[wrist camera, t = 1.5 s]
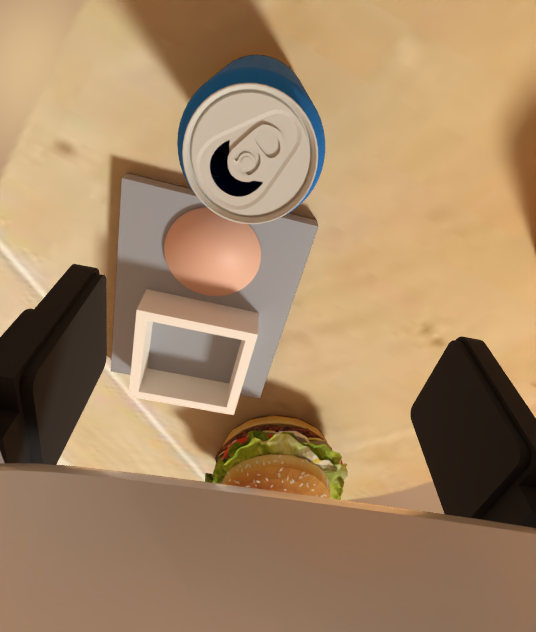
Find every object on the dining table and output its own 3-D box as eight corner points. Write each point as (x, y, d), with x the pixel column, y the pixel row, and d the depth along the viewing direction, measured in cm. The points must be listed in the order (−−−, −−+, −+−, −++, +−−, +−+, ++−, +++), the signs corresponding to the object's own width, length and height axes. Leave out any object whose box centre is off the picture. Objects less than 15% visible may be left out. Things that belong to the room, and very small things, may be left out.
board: (126, 172, 29) (107, 191, 26) (316, 220, 31) (322, 243, 28) (114, 362, 39) (99, 394, 36) (259, 389, 41) (258, 422, 38)
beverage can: (186, 104, 27) (138, 147, 17) (265, 28, 25) (261, 26, 15) (251, 183, 30) (241, 259, 20) (326, 121, 27) (359, 172, 18)
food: (367, 442, 46) (384, 512, 39) (280, 498, 52) (282, 566, 45) (274, 380, 41) (275, 448, 34) (189, 450, 47) (176, 519, 40)
